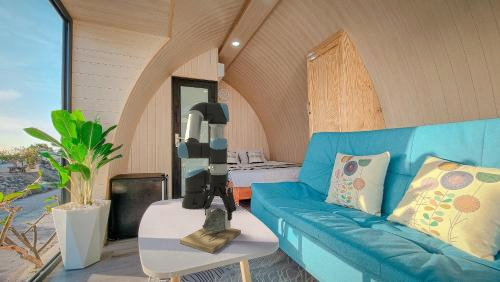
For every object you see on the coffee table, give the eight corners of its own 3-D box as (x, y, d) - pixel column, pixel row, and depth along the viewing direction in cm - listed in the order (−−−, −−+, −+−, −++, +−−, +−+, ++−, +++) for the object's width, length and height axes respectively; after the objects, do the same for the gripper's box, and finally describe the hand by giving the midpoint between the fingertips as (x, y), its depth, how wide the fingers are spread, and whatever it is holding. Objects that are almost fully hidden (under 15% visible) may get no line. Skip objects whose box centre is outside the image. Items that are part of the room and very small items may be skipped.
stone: (215, 209, 89) (222, 202, 99) (197, 223, 91) (206, 214, 101) (229, 228, 88) (235, 219, 98) (211, 242, 90) (219, 231, 100)
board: (211, 226, 103) (211, 223, 103) (240, 233, 96) (240, 229, 96) (179, 243, 86) (179, 239, 86) (212, 253, 78) (212, 249, 78)
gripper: (192, 172, 97) (192, 223, 96) (235, 176, 86) (235, 233, 86) (204, 171, 103) (203, 218, 103) (245, 174, 93) (244, 227, 92)
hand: (217, 225), depth 94 cm, fingers closed on stone, 10 cm apart
